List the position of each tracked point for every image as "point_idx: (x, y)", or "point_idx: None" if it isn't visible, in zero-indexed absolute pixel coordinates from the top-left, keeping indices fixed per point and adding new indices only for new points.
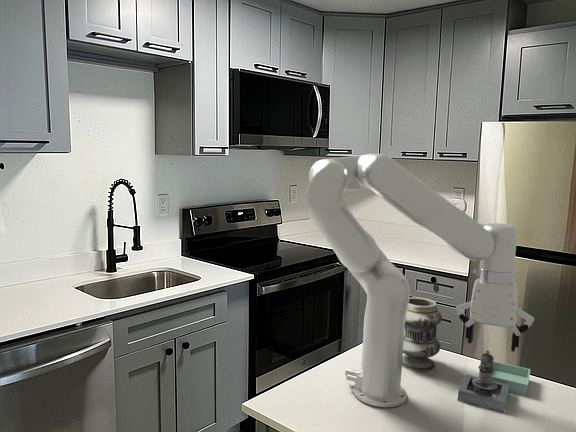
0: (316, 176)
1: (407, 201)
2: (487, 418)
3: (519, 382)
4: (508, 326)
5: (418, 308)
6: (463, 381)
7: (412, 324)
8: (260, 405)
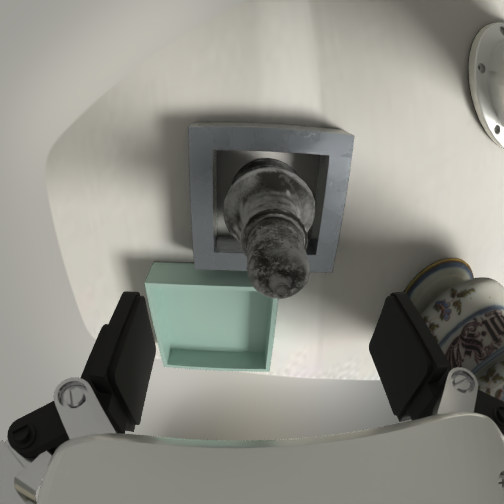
0: None
1: None
2: (241, 56)
3: (168, 287)
4: (103, 440)
5: None
6: (339, 215)
7: None
8: None
